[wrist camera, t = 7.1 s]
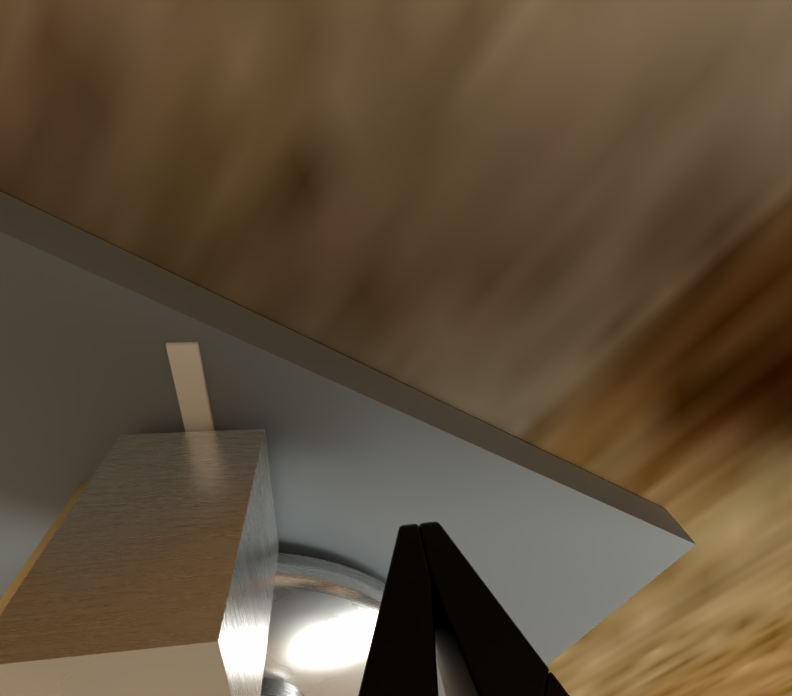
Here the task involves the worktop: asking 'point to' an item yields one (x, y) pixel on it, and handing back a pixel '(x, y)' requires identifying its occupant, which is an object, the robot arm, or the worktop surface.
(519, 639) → the robot arm
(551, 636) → the base board
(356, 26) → the worktop surface
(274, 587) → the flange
